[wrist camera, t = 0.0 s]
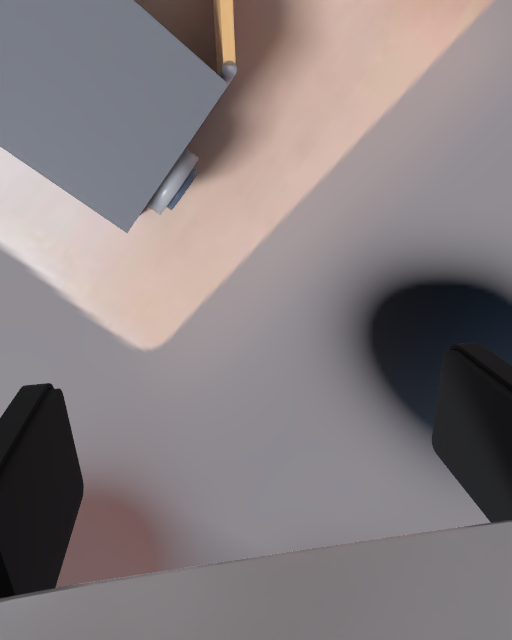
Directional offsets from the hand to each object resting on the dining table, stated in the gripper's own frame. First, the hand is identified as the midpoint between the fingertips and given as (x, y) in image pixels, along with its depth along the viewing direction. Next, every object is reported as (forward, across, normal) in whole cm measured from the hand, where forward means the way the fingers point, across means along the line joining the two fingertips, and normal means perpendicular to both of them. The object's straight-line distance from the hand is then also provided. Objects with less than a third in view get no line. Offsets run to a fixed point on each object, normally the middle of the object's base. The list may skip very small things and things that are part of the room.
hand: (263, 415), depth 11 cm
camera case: (+31, +8, -10) cm, 34 cm away
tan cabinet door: (+31, -2, -15) cm, 34 cm away
